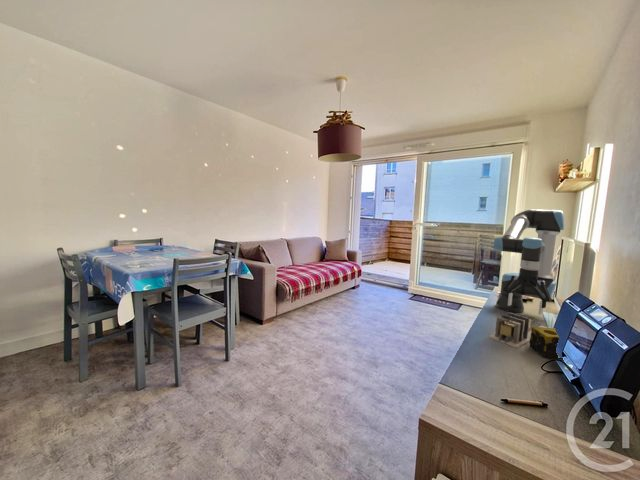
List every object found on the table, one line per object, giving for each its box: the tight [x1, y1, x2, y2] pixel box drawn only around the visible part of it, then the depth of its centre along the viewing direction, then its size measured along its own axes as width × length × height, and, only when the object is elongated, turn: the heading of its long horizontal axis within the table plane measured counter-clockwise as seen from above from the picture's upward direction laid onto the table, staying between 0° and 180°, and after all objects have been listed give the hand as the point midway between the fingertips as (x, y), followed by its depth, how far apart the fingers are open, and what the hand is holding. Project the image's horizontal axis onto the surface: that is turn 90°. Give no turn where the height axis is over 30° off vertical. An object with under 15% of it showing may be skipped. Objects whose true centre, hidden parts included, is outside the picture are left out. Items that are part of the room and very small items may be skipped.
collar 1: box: [500, 313, 524, 342], centre depth 134 cm, size 1×10×11 cm, turn 33°
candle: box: [528, 326, 559, 359], centre depth 121 cm, size 10×10×10 cm
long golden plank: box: [500, 318, 532, 337], centre depth 136 cm, size 22×4×4 cm, turn 123°
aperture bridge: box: [494, 316, 521, 344], centre depth 132 cm, size 2×9×10 cm, turn 33°
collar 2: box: [505, 311, 531, 339], centre depth 137 cm, size 1×10×11 cm, turn 33°
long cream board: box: [489, 319, 548, 349], centre depth 141 cm, size 40×12×3 cm, turn 123°
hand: (524, 309), depth 140 cm, fingers open, 13 cm apart
